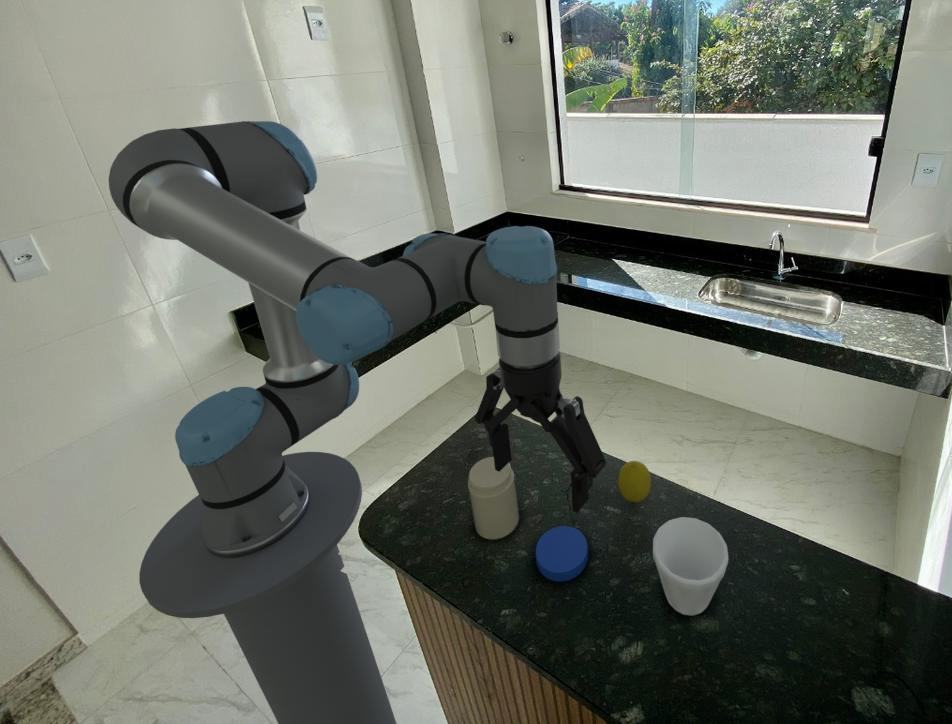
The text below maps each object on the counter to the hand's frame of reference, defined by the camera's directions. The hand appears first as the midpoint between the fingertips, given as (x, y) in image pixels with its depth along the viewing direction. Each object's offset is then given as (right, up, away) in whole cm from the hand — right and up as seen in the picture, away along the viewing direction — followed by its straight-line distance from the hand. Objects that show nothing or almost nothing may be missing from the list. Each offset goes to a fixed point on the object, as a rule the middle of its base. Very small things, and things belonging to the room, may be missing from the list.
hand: (540, 484), depth 67 cm
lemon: (+14, -10, +16) cm, 24 cm away
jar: (-9, -12, +13) cm, 19 cm away
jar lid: (+3, -12, +6) cm, 14 cm away
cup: (+21, -16, +1) cm, 26 cm away
